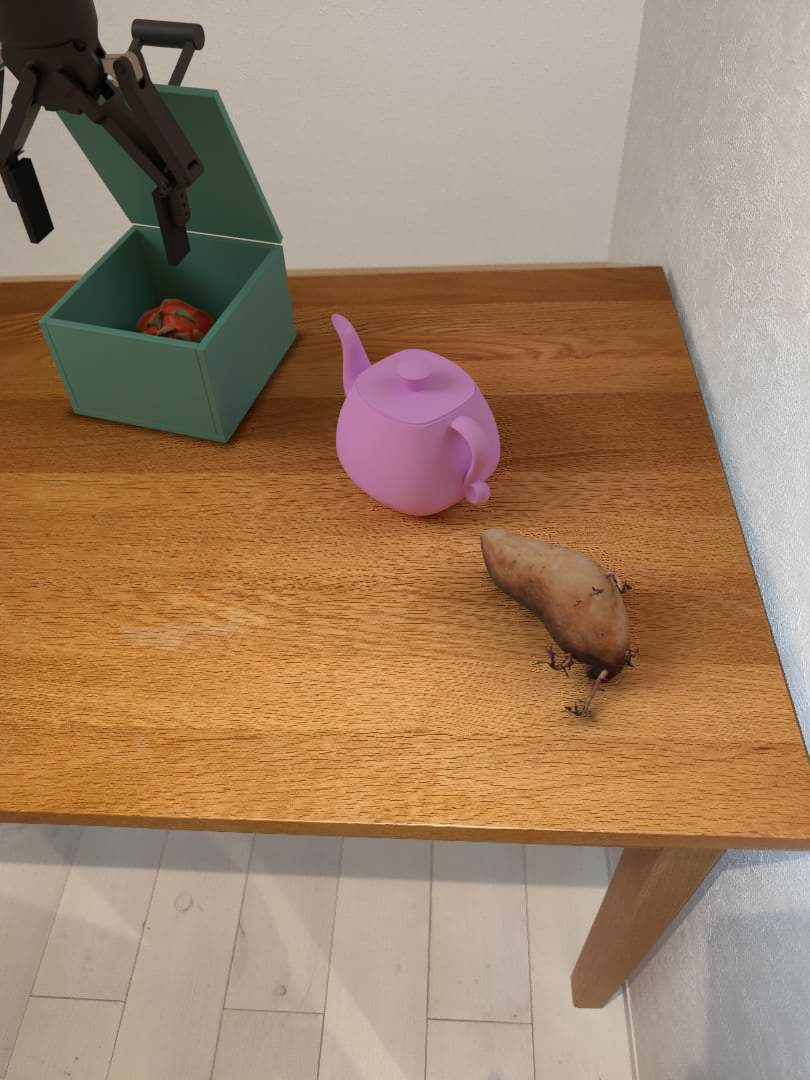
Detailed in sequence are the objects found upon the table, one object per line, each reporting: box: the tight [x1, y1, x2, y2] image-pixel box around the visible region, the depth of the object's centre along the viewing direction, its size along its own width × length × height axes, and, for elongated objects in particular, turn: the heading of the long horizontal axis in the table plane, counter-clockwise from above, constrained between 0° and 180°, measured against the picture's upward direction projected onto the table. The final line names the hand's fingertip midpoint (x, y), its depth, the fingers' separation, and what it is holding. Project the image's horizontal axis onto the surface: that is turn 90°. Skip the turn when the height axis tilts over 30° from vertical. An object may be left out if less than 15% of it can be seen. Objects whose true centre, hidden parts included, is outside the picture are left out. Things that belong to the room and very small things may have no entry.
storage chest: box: [37, 224, 297, 444], centre depth 88 cm, size 18×17×11 cm
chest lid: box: [54, 18, 284, 245], centre depth 82 cm, size 18×17×9 cm
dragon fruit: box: [134, 299, 215, 344], centre depth 88 cm, size 8×8×12 cm
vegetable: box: [479, 527, 640, 717], centre depth 66 cm, size 16×11×10 cm
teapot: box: [331, 313, 501, 517], centre depth 77 cm, size 20×13×12 cm, turn 41°
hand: (110, 247), depth 79 cm, fingers open, 13 cm apart
